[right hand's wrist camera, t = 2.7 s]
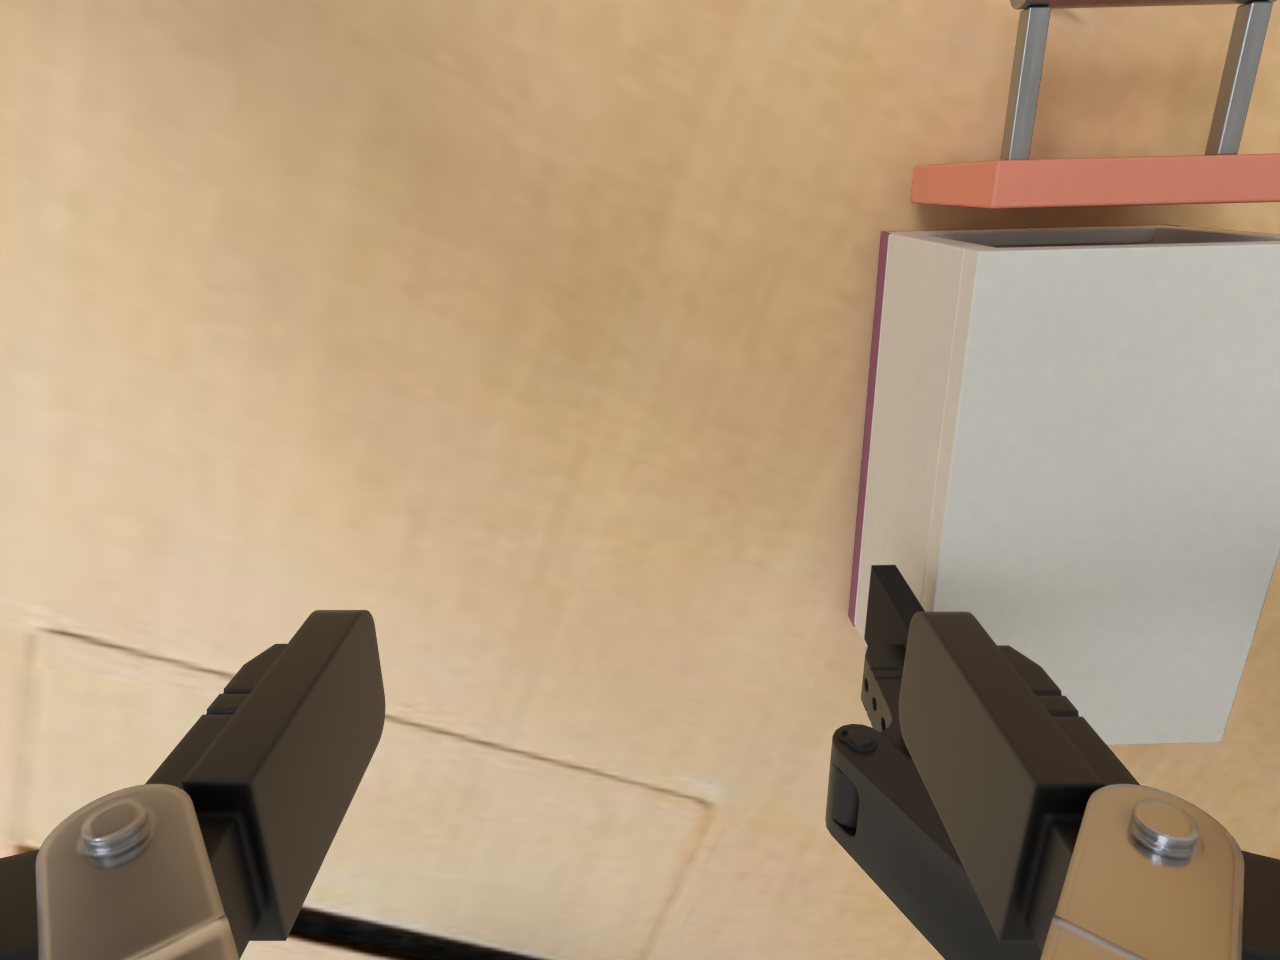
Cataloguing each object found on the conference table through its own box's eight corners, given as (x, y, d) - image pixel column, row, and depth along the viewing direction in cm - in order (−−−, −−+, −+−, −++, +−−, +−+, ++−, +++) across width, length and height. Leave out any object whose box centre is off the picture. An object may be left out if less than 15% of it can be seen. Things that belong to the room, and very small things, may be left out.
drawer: (930, -16, 24) (1030, -83, 18) (1217, -23, 24) (1415, -93, 18) (875, 554, 32) (933, 644, 26) (1096, 549, 32) (1208, 639, 25)
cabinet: (881, 231, 28) (978, 251, 20) (1165, 224, 28) (1376, 241, 20) (848, 615, 34) (913, 749, 26) (1083, 610, 34) (1221, 743, 26)
